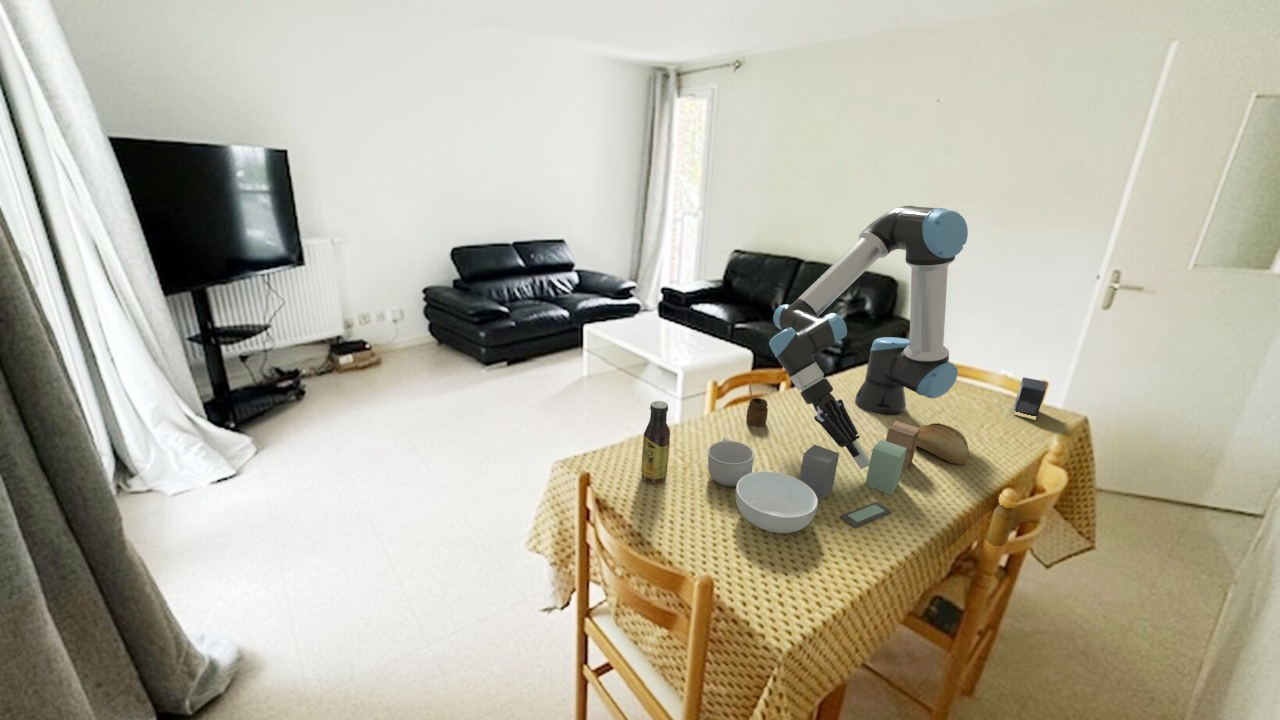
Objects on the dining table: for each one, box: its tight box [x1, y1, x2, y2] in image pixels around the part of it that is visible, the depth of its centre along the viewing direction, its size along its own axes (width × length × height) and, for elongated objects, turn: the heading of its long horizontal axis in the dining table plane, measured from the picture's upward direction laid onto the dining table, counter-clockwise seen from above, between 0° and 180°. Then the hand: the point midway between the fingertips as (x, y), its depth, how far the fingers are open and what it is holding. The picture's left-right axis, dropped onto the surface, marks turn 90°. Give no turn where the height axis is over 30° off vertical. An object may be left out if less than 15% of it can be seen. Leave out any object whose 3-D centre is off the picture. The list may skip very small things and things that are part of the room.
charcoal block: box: [798, 444, 840, 502], centre depth 122 cm, size 6×6×10 cm
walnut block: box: [885, 420, 920, 471], centre depth 136 cm, size 6×6×10 cm
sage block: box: [864, 439, 907, 495], centre depth 126 cm, size 6×6×10 cm
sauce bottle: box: [640, 400, 671, 484], centre depth 123 cm, size 7×6×20 cm
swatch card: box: [839, 501, 892, 529], centre depth 115 cm, size 12×4×1 cm, turn 119°
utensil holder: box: [745, 384, 771, 427], centre depth 155 cm, size 6×6×12 cm
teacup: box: [707, 436, 755, 487], centre depth 127 cm, size 14×11×8 cm
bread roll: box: [916, 422, 970, 465], centre depth 142 cm, size 10×15×8 cm, turn 36°
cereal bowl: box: [735, 470, 819, 534], centre depth 111 cm, size 17×17×7 cm
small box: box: [1013, 377, 1046, 417], centre depth 169 cm, size 11×6×10 cm, turn 144°
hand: (866, 466), depth 128 cm, fingers closed
